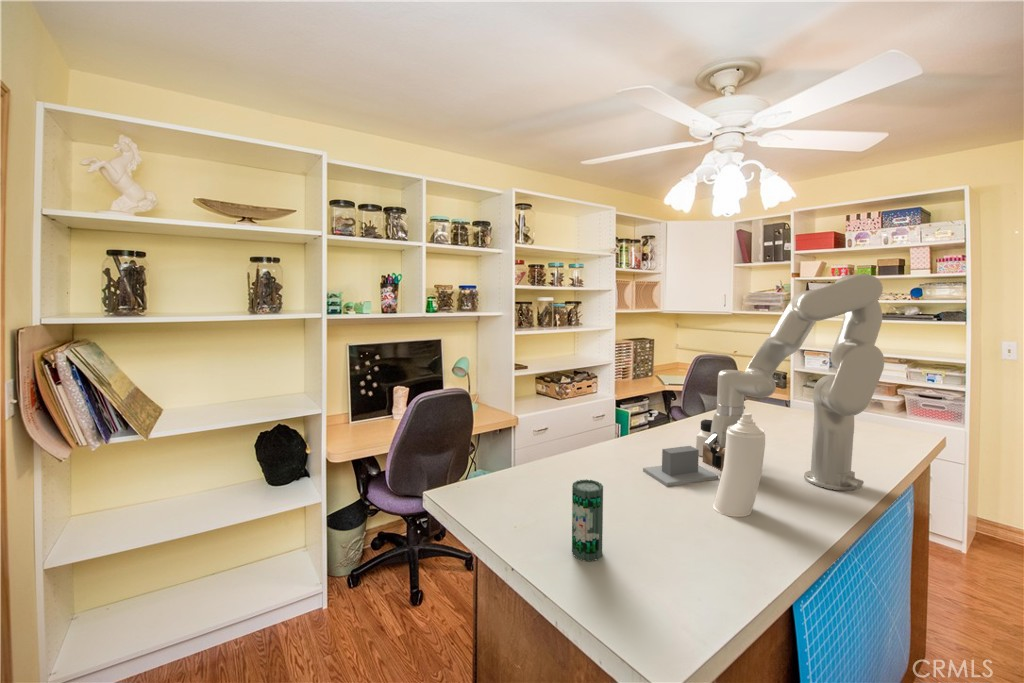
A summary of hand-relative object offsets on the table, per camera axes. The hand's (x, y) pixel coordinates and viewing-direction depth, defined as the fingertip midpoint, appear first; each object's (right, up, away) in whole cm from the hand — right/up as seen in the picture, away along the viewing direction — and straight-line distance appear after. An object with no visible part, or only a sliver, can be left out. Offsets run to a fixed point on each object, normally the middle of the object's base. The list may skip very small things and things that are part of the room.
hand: (727, 465), depth 141 cm
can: (-51, -7, -44) cm, 68 cm away
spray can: (-9, -5, -24) cm, 26 cm away
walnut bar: (0, -2, 0) cm, 2 cm away
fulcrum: (-16, -2, -3) cm, 16 cm away
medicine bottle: (+1, -1, +15) cm, 15 cm away
